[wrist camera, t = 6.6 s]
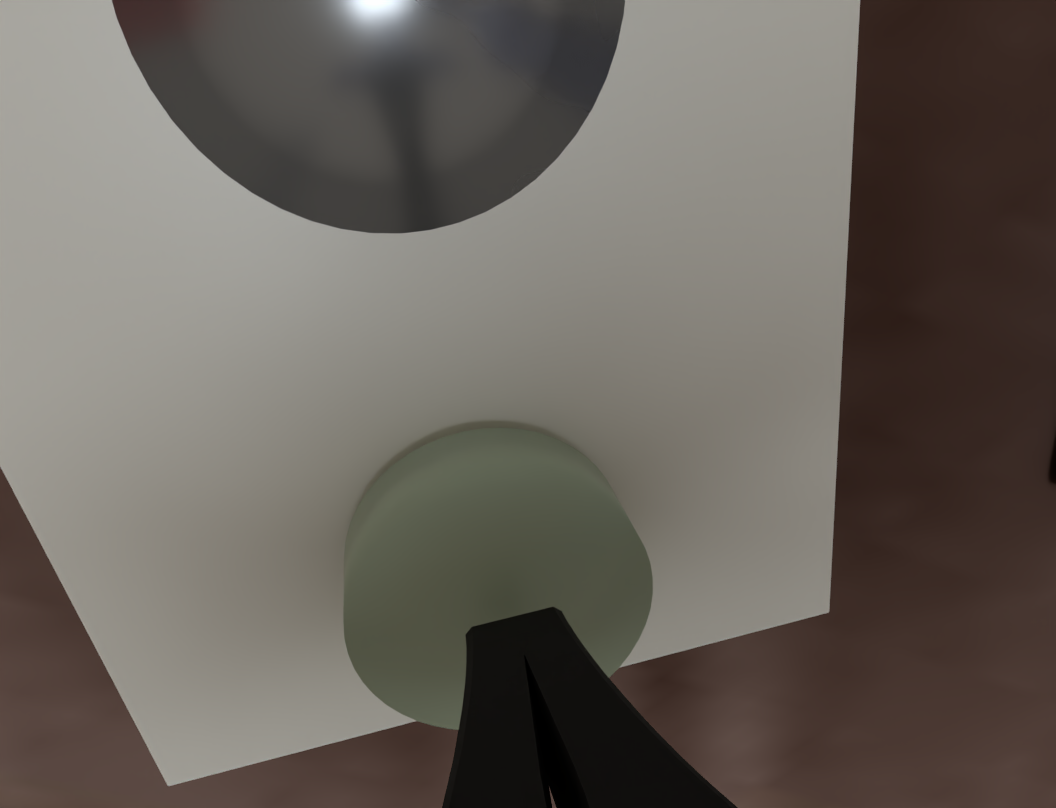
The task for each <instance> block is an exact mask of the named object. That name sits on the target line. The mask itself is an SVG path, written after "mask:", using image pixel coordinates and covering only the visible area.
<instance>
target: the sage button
mask: <svg viewBox="0 0 1056 808" xmlns="http://www.w3.org/2000/svg"><path fill="white" fill-rule="evenodd" d="M652 596H653V576H652V570H651V564H650V561H649V558H648V555H647V552H646V549H645V547H644V545H643V543H642V541H641V539H640V537H639V536H638V534H637V532H636V530H635V529H634V527H633V525H632V523H631V521H630V520H629V518H628V516H627V514H626V513H625V511H624V509H623V507H622V506H621V504H620V502H619V500H618V498H617V497H616V495H615V493H614V491H613V490H612V488H611V486H610V484H609V483H608V481H607V479H606V478H605V476H604V475H603V474H602V472H601V471H600V470H599V469H598V467H597V466H596V465H595V464H594V463H593V462H592V461H590V460H589V459H588V458H587V457H586V456H585V455H584V454H582V453H581V452H579V451H578V450H577V449H575V448H574V447H572V446H570V445H568V444H566V443H564V442H562V441H560V440H558V439H556V438H554V437H551V436H548V435H545V434H542V433H539V432H534V431H529V430H524V429H515V428H482V429H476V430H470V431H463V432H460V433H456V434H453V435H449V436H446V437H443V438H440V439H438V440H435V441H433V442H430V443H428V444H426V445H424V446H422V447H420V448H418V449H416V450H415V451H413V452H411V453H409V454H408V455H406V456H405V457H403V458H402V459H401V460H399V461H398V462H396V463H395V464H394V465H392V466H391V467H390V468H389V469H388V470H387V471H386V472H385V473H384V474H383V475H381V476H380V477H379V478H378V479H377V481H376V482H375V483H374V484H373V485H372V487H371V488H370V489H369V490H368V491H367V493H366V494H365V496H364V497H363V499H362V501H361V502H360V504H359V505H358V507H357V509H356V511H355V513H354V516H353V518H352V520H351V522H350V525H349V529H348V533H347V536H346V541H345V550H344V606H343V624H344V639H345V644H346V648H347V652H348V655H349V658H350V660H351V662H352V665H353V667H354V669H355V671H356V672H357V674H358V676H359V677H360V679H361V680H362V682H363V683H364V684H365V685H366V686H367V688H368V689H369V690H370V691H371V692H372V693H373V694H374V695H375V696H376V697H377V698H379V699H380V700H381V701H382V702H383V703H385V704H386V705H387V706H389V707H391V708H392V709H394V710H396V711H397V712H399V713H401V714H403V715H405V716H407V717H409V718H412V719H414V720H416V721H419V722H422V723H426V724H429V725H432V726H437V727H442V728H448V729H456V730H459V724H460V718H461V712H462V706H463V697H464V688H465V678H466V636H465V634H466V633H467V632H468V631H469V630H470V628H471V627H473V626H477V625H481V624H485V623H489V622H493V621H497V620H501V619H505V618H509V617H513V616H517V615H521V614H525V613H529V612H533V611H537V610H541V609H545V608H549V607H555V608H557V609H559V610H561V611H562V613H563V614H564V616H565V618H566V620H567V621H568V623H569V625H570V626H571V628H572V629H573V631H574V632H575V634H576V635H577V637H578V638H579V640H580V641H581V642H582V644H583V645H584V647H585V648H586V649H587V651H588V652H589V653H590V655H591V656H592V657H593V659H594V660H595V661H596V663H597V664H598V665H599V666H600V668H601V669H602V670H603V672H604V673H605V674H606V675H607V676H608V678H609V677H610V676H611V675H612V674H613V673H614V672H615V671H616V670H617V669H618V668H619V667H620V666H621V665H622V663H623V662H624V661H625V660H626V658H627V657H628V656H629V655H630V653H631V651H632V650H633V648H634V647H635V645H636V643H637V642H638V640H639V638H640V636H641V634H642V632H643V629H644V627H645V625H646V622H647V619H648V615H649V612H650V609H651V602H652Z"/></svg>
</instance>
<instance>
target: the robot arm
mask: <svg viewBox="0 0 1056 808" xmlns="http://www.w3.org/2000/svg"><path fill="white" fill-rule="evenodd" d="M465 636H466V678H465V688H464V697H463V706H462V712H461V718H460V724H459V730H458V736H457V742H456V748H455V754H454V759H453V764H452V768H451V772H450V777H449V781H448V785H447V789H446V794H445V798H444V802H443V806H442V808H552V804H551V797H550V791H549V787H550V790H551V793H552V796H553V799H554V801H555V804H556V807H557V808H737V807H736V806H735V805H734V804H733V803H732V802H730V801H729V800H728V799H727V798H726V797H725V796H724V795H722V794H721V793H720V792H719V791H718V790H717V789H716V788H714V787H713V786H712V785H711V784H710V783H709V782H708V781H707V780H705V779H704V778H703V777H702V776H701V775H700V774H699V773H698V772H697V771H696V770H695V769H694V768H693V767H692V766H691V765H689V764H688V763H687V762H686V761H685V760H684V759H683V758H682V757H681V756H680V755H679V754H678V753H677V752H676V751H675V750H674V749H673V748H672V747H671V746H670V745H669V744H668V743H667V742H666V741H665V740H664V739H663V738H662V737H661V736H660V735H659V734H658V733H657V732H656V731H655V730H654V728H653V727H652V726H651V725H650V724H649V723H648V722H647V721H646V720H645V719H644V718H643V717H642V716H641V715H640V713H639V712H638V711H637V710H636V709H635V708H634V707H633V705H632V704H631V703H630V702H629V701H628V700H627V699H626V697H625V696H624V695H623V694H622V693H621V692H620V691H619V689H618V688H617V687H616V686H615V685H614V684H613V683H612V681H611V680H610V679H609V678H608V676H607V675H606V674H605V673H604V672H603V670H602V669H601V668H600V666H599V665H598V664H597V663H596V661H595V660H594V659H593V657H592V656H591V655H590V653H589V652H588V651H587V649H586V648H585V647H584V645H583V644H582V642H581V641H580V640H579V638H578V637H577V635H576V634H575V632H574V631H573V629H572V628H571V626H570V625H569V623H568V621H567V620H566V618H565V616H564V614H563V613H562V611H561V610H559V609H557V608H555V607H549V608H545V609H541V610H537V611H533V612H529V613H525V614H521V615H517V616H513V617H509V618H505V619H501V620H497V621H493V622H489V623H485V624H481V625H477V626H473V627H471V628H470V630H469V631H468V632H467V633H466V634H465Z"/></svg>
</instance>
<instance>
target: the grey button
mask: <svg viewBox="0 0 1056 808" xmlns="http://www.w3.org/2000/svg"><path fill="white" fill-rule="evenodd" d="M112 3H113V6H114V10H115V14H116V17H117V20H118V22H119V25H120V27H121V30H122V32H123V35H124V37H125V40H126V42H127V45H128V47H129V49H130V52H131V54H132V56H133V58H134V60H135V62H136V64H137V66H138V67H139V69H140V71H141V73H142V75H143V77H144V79H145V80H146V82H147V84H148V86H149V88H150V90H151V91H152V92H153V94H154V95H155V97H156V98H157V100H158V101H159V102H160V104H161V105H162V107H163V108H164V110H165V111H166V112H167V114H168V115H169V117H170V118H171V120H172V121H173V122H174V123H175V124H176V126H177V127H178V128H179V129H180V130H181V131H182V132H183V133H184V135H185V136H186V137H187V138H188V139H189V140H190V141H191V143H192V144H193V145H194V146H195V147H196V148H197V149H198V150H199V151H200V152H201V153H202V154H203V155H204V156H206V157H207V158H208V159H209V160H210V161H211V162H212V163H213V164H214V165H216V166H217V167H218V168H219V169H220V170H221V171H222V172H223V173H225V174H226V175H227V176H229V177H230V178H232V179H233V180H234V181H236V182H237V183H239V184H240V185H242V186H243V187H244V188H246V189H247V190H249V191H250V192H251V193H253V194H255V195H257V196H258V197H260V198H262V199H264V200H266V201H268V202H269V203H271V204H273V205H275V206H277V207H279V208H280V209H283V210H285V211H288V212H290V213H293V214H295V215H297V216H300V217H302V218H305V219H307V220H310V221H313V222H317V223H321V224H324V225H328V226H332V227H336V228H339V229H345V230H352V231H359V232H367V233H410V232H418V231H426V230H432V229H436V228H440V227H444V226H448V225H452V224H456V223H460V222H462V221H464V220H467V219H469V218H472V217H474V216H477V215H479V214H482V213H484V212H487V211H488V210H490V209H492V208H494V207H496V206H497V205H499V204H501V203H503V202H504V201H506V200H508V199H510V198H512V197H513V196H514V195H516V194H517V193H518V192H520V191H521V190H522V189H524V188H525V187H526V186H528V185H529V184H530V183H532V182H533V181H534V180H536V179H537V178H538V177H539V176H540V175H541V174H542V173H543V172H544V171H545V170H546V169H547V168H548V167H549V166H550V165H551V164H552V163H553V162H554V161H555V160H556V159H557V158H558V157H559V156H560V154H561V153H562V152H563V151H564V149H565V148H566V147H567V146H568V144H569V143H570V142H571V141H572V139H573V138H574V137H575V136H576V134H577V133H578V131H579V129H580V128H581V126H582V125H583V123H584V121H585V120H586V118H587V117H588V115H589V113H590V112H591V110H592V108H593V106H594V104H595V102H596V100H597V98H598V96H599V93H600V91H601V89H602V87H603V85H604V83H605V81H606V78H607V75H608V72H609V69H610V66H611V63H612V60H613V57H614V54H615V51H616V48H617V44H618V39H619V34H620V30H621V25H622V20H623V15H624V7H625V0H112Z"/></svg>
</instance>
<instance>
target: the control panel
mask: <svg viewBox="0 0 1056 808" xmlns="http://www.w3.org/2000/svg"><path fill="white" fill-rule="evenodd" d="M859 12H860V0H625V7H624V15H623V20H622V25H621V30H620V34H619V39H618V44H617V48H616V51H615V54H614V57H613V60H612V63H611V66H610V69H609V72H608V75H607V78H606V81H605V83H604V85H603V87H602V89H601V91H600V93H599V96H598V98H597V100H596V102H595V104H594V106H593V108H592V110H591V112H590V113H589V115H588V117H587V118H586V120H585V121H584V123H583V125H582V126H581V128H580V129H579V131H578V133H577V134H576V136H575V137H574V138H573V139H572V141H571V142H570V143H569V144H568V146H567V147H566V148H565V149H564V151H563V152H562V153H561V154H560V156H559V157H558V158H557V159H556V160H555V161H554V162H553V163H552V164H551V165H550V166H549V167H548V168H547V169H546V170H545V171H544V172H543V173H542V174H541V175H540V176H539V177H538V178H537V179H536V180H534V181H533V182H532V183H530V184H529V185H528V186H526V187H525V188H524V189H522V190H521V191H520V192H518V193H517V194H516V195H514V196H513V197H512V198H510V199H508V200H506V201H504V202H503V203H501V204H499V205H497V206H496V207H494V208H492V209H490V210H488V211H487V212H484V213H482V214H479V215H477V216H474V217H472V218H469V219H467V220H464V221H462V222H460V223H456V224H452V225H448V226H444V227H440V228H436V229H432V230H426V231H418V232H410V233H367V232H359V231H352V230H345V229H339V228H336V227H332V226H328V225H324V224H321V223H317V222H313V221H310V220H307V219H305V218H302V217H300V216H297V215H295V214H293V213H290V212H288V211H285V210H283V209H280V208H279V207H277V206H275V205H273V204H271V203H269V202H268V201H266V200H264V199H262V198H260V197H258V196H257V195H255V194H253V193H251V192H250V191H249V190H247V189H246V188H244V187H243V186H242V185H240V184H239V183H237V182H236V181H234V180H233V179H232V178H230V177H229V176H227V175H226V174H225V173H223V172H222V171H221V170H220V169H219V168H218V167H217V166H216V165H214V164H213V163H212V162H211V161H210V160H209V159H208V158H207V157H206V156H204V155H203V154H202V153H201V152H200V151H199V150H198V149H197V148H196V147H195V146H194V145H193V144H192V143H191V141H190V140H189V139H188V138H187V137H186V136H185V135H184V133H183V132H182V131H181V130H180V129H179V128H178V127H177V126H176V124H175V123H174V122H173V121H172V120H171V118H170V117H169V115H168V114H167V112H166V111H165V110H164V108H163V107H162V105H161V104H160V102H159V101H158V100H157V98H156V97H155V95H154V94H153V92H152V91H151V90H150V88H149V86H148V84H147V82H146V80H145V79H144V77H143V75H142V73H141V71H140V69H139V67H138V66H137V64H136V62H135V60H134V58H133V56H132V54H131V52H130V49H129V47H128V45H127V42H126V40H125V37H124V35H123V32H122V30H121V27H120V25H119V22H118V20H117V17H116V14H115V10H114V6H113V3H112V0H0V467H1V469H2V471H3V473H4V474H5V476H6V478H7V480H8V482H9V484H10V486H11V488H12V490H13V492H14V493H15V495H16V497H17V499H18V501H19V503H20V505H21V507H22V509H23V511H24V513H25V514H26V516H27V518H28V520H29V522H30V524H31V526H32V528H33V530H34V532H35V534H36V535H37V537H38V539H39V541H40V543H41V545H42V547H43V549H44V551H45V553H46V554H47V556H48V558H49V560H50V562H51V564H52V566H53V568H54V570H55V572H56V574H57V575H58V577H59V579H60V581H61V583H62V585H63V587H64V589H65V591H66V593H67V595H68V596H69V598H70V600H71V602H72V604H73V606H74V608H75V610H76V612H77V614H78V615H79V617H80V619H81V621H82V623H83V625H84V627H85V629H86V631H87V633H88V635H89V636H90V638H91V640H92V642H93V644H94V646H95V648H96V650H97V652H98V654H99V656H100V657H101V659H102V661H103V663H104V665H105V667H106V669H107V671H108V673H109V675H110V676H111V678H112V680H113V682H114V684H115V686H116V688H117V690H118V692H119V694H120V696H121V697H122V699H123V701H124V703H125V705H126V707H127V709H128V711H129V713H130V715H131V717H132V718H133V720H134V722H135V724H136V726H137V728H138V730H139V732H140V734H141V736H142V737H143V739H144V741H145V743H146V745H147V747H148V749H149V751H150V753H151V755H152V757H153V758H154V760H155V762H156V764H157V766H158V768H159V770H160V772H161V774H162V776H163V778H164V779H165V781H166V783H167V785H168V786H171V785H175V784H179V783H183V782H186V781H190V780H194V779H198V778H202V777H205V776H209V775H213V774H217V773H221V772H224V771H228V770H232V769H236V768H240V767H243V766H247V765H251V764H255V763H259V762H262V761H266V760H270V759H274V758H278V757H281V756H285V755H289V754H293V753H297V752H300V751H304V750H308V749H312V748H316V747H319V746H323V745H327V744H331V743H335V742H338V741H342V740H346V739H350V738H354V737H357V736H361V735H365V734H369V733H373V732H376V731H380V730H384V729H388V728H392V727H395V726H399V725H403V724H407V723H411V722H414V721H416V720H414V719H412V718H409V717H407V716H405V715H403V714H401V713H399V712H397V711H396V710H394V709H392V708H391V707H389V706H387V705H386V704H385V703H383V702H382V701H381V700H380V699H379V698H377V697H376V696H375V695H374V694H373V693H372V692H371V691H370V690H369V689H368V688H367V686H366V685H365V684H364V683H363V682H362V680H361V679H360V677H359V676H358V674H357V672H356V671H355V669H354V667H353V665H352V662H351V660H350V658H349V655H348V652H347V648H346V644H345V639H344V624H343V606H344V550H345V541H346V536H347V533H348V529H349V525H350V522H351V520H352V518H353V516H354V513H355V511H356V509H357V507H358V505H359V504H360V502H361V501H362V499H363V497H364V496H365V494H366V493H367V491H368V490H369V489H370V488H371V487H372V485H373V484H374V483H375V482H376V481H377V479H378V478H379V477H380V476H381V475H383V474H384V473H385V472H386V471H387V470H388V469H389V468H390V467H391V466H392V465H394V464H395V463H396V462H398V461H399V460H401V459H402V458H403V457H405V456H406V455H408V454H409V453H411V452H413V451H415V450H416V449H418V448H420V447H422V446H424V445H426V444H428V443H430V442H433V441H435V440H438V439H440V438H443V437H446V436H449V435H453V434H456V433H460V432H463V431H470V430H476V429H482V428H515V429H524V430H529V431H534V432H539V433H542V434H545V435H548V436H551V437H554V438H556V439H558V440H560V441H562V442H564V443H566V444H568V445H570V446H572V447H574V448H575V449H577V450H578V451H579V452H581V453H582V454H584V455H585V456H586V457H587V458H588V459H589V460H590V461H592V462H593V463H594V464H595V465H596V466H597V467H598V469H599V470H600V471H601V472H602V474H603V475H604V476H605V478H606V479H607V481H608V483H609V484H610V486H611V488H612V490H613V491H614V493H615V495H616V497H617V498H618V500H619V502H620V504H621V506H622V507H623V509H624V511H625V513H626V514H627V516H628V518H629V520H630V521H631V523H632V525H633V527H634V529H635V530H636V532H637V534H638V536H639V537H640V539H641V541H642V543H643V545H644V547H645V549H646V552H647V555H648V558H649V561H650V564H651V570H652V576H653V596H652V602H651V609H650V612H649V615H648V619H647V622H646V625H645V627H644V629H643V632H642V634H641V636H640V638H639V640H638V642H637V643H636V645H635V647H634V648H633V650H632V651H631V653H630V655H629V656H628V657H627V658H626V660H625V661H624V662H623V663H622V665H621V666H620V667H623V666H627V665H631V664H635V663H639V662H642V661H646V660H650V659H654V658H658V657H661V656H665V655H669V654H673V653H677V652H680V651H684V650H688V649H692V648H696V647H700V646H703V645H707V644H711V643H715V642H719V641H722V640H726V639H730V638H734V637H738V636H741V635H745V634H749V633H753V632H757V631H760V630H764V629H768V628H772V627H776V626H779V625H783V624H787V623H791V622H795V621H798V620H802V619H806V618H810V617H814V616H817V615H821V614H825V613H829V605H830V586H831V566H832V546H833V526H834V507H835V487H836V467H837V447H838V427H839V408H840V388H841V368H842V348H843V329H844V309H845V289H846V269H847V249H848V230H849V210H850V190H851V170H852V151H853V131H854V111H855V91H856V71H857V52H858V32H859ZM620 667H619V668H620Z"/></svg>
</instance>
